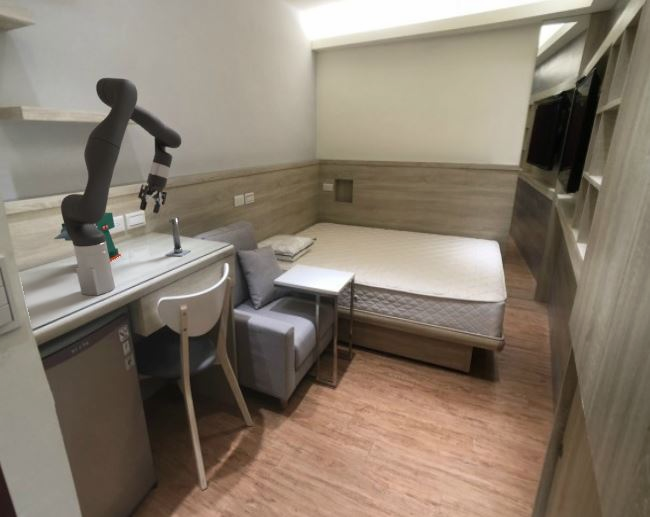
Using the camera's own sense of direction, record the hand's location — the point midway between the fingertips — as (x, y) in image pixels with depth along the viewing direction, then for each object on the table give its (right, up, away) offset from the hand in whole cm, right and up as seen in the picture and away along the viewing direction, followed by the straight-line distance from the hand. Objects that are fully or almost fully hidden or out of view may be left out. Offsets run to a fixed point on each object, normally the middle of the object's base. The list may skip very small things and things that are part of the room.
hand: (149, 211), depth 151 cm
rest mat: (+8, -18, +11) cm, 23 cm away
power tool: (-19, -25, -9) cm, 32 cm away
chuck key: (+8, -18, +10) cm, 22 cm away
